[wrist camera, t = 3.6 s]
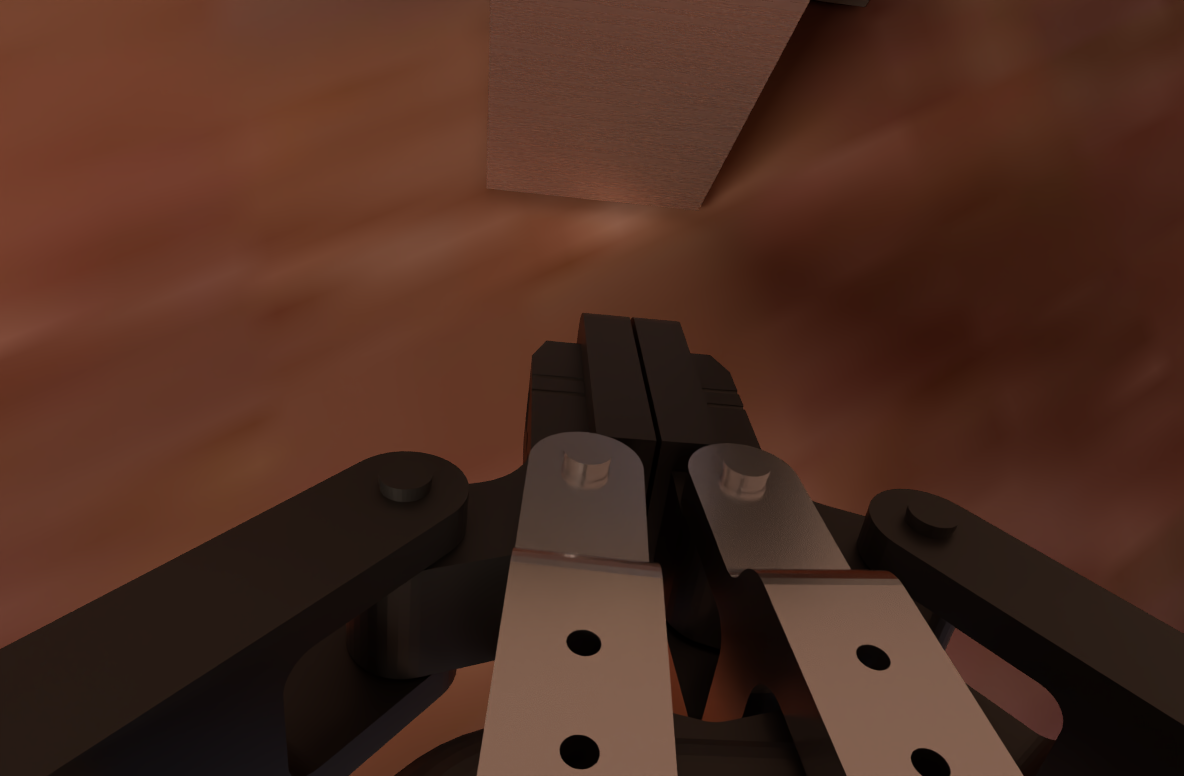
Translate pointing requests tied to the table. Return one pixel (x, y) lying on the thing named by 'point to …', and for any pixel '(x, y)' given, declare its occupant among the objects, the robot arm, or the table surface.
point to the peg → (626, 93)
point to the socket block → (849, 2)
